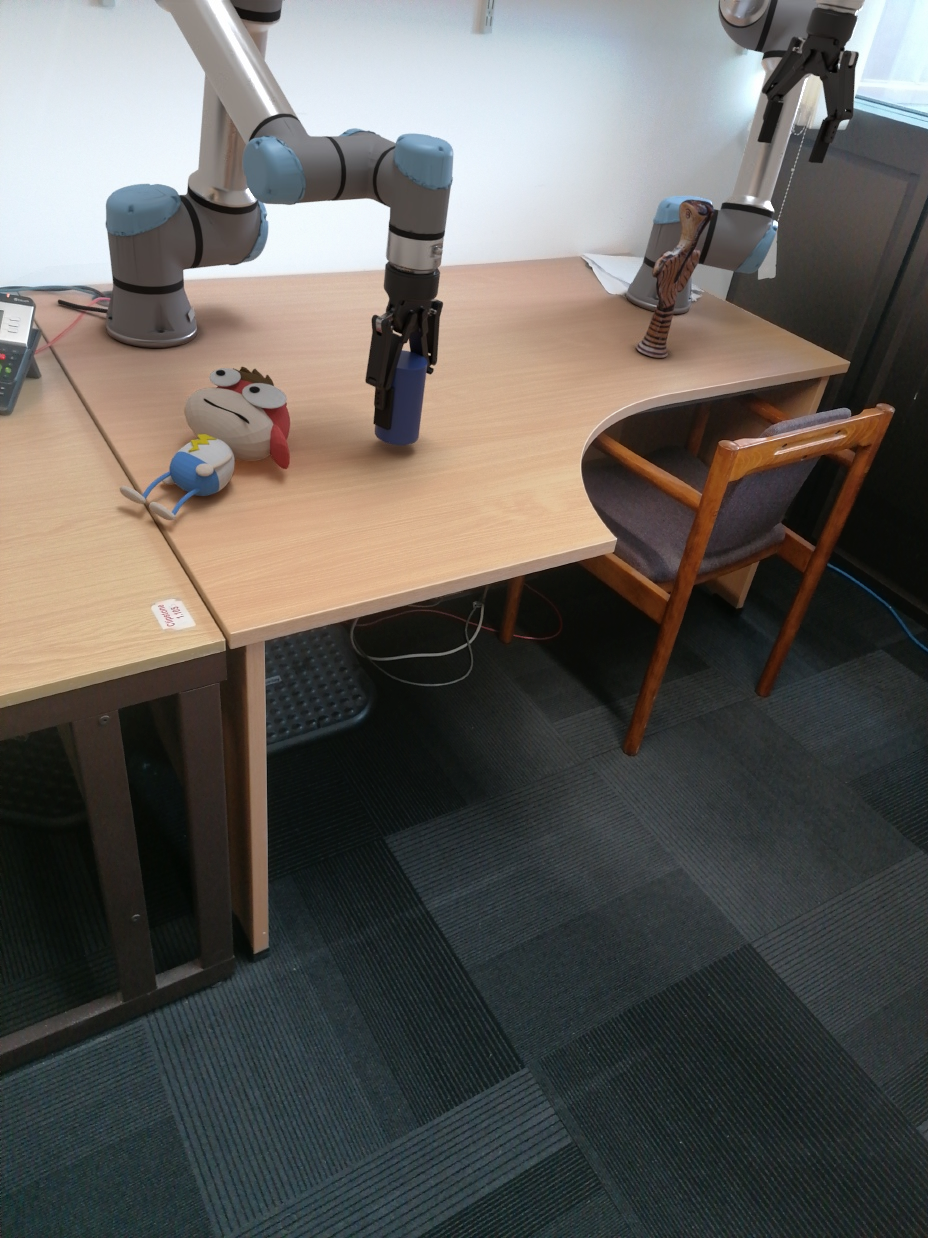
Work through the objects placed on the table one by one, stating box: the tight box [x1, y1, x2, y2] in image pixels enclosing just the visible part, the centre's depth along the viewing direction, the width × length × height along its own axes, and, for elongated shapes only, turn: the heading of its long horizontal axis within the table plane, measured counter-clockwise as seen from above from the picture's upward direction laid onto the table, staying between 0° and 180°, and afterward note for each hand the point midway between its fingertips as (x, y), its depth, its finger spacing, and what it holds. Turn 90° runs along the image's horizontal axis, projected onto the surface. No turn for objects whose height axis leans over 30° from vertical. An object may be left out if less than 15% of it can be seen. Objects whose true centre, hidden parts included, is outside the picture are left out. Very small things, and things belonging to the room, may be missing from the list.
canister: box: [374, 349, 427, 446], centre depth 133 cm, size 7×7×12 cm
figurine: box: [635, 199, 715, 359], centre depth 176 cm, size 15×8×30 cm, turn 144°
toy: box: [119, 366, 291, 521], centre depth 123 cm, size 18×10×30 cm
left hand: (397, 418), depth 135 cm, fingers closed on canister, 7 cm apart
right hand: (788, 151), depth 158 cm, fingers open, 13 cm apart
